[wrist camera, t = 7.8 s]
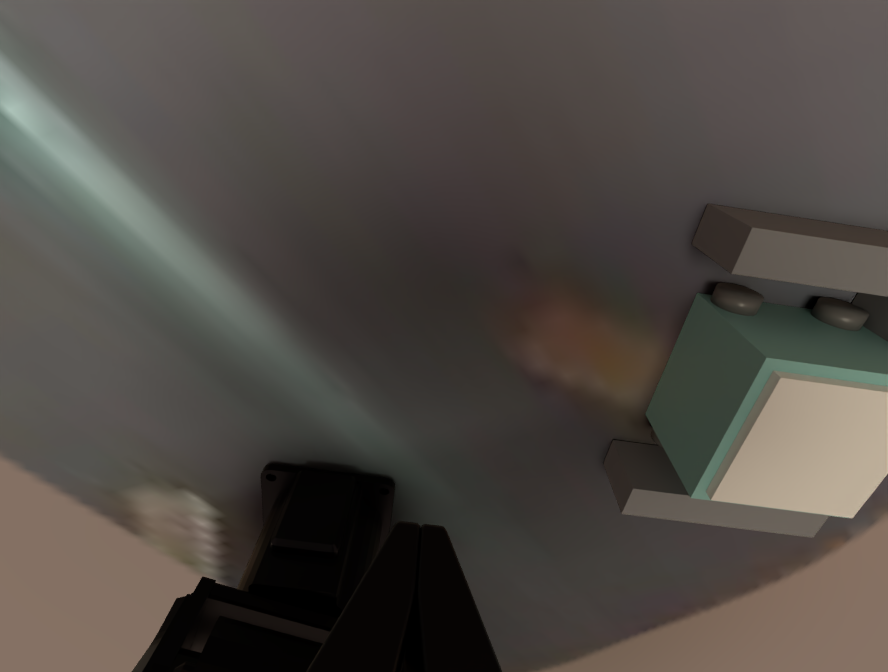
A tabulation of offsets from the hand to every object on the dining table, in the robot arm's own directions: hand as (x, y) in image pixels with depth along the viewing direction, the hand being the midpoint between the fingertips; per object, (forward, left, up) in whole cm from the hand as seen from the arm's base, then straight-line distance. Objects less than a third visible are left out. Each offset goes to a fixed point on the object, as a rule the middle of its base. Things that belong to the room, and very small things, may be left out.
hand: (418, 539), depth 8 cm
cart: (-2, -13, -12) cm, 18 cm away
